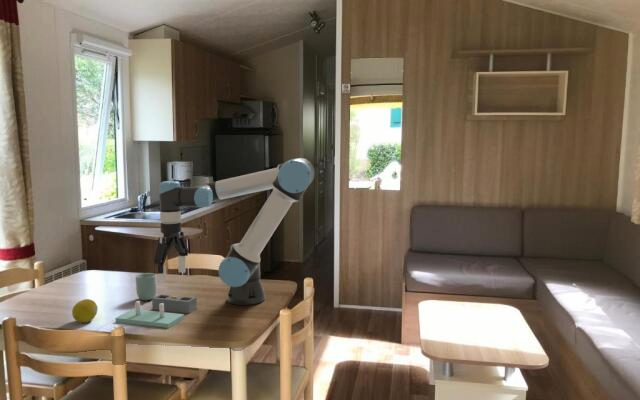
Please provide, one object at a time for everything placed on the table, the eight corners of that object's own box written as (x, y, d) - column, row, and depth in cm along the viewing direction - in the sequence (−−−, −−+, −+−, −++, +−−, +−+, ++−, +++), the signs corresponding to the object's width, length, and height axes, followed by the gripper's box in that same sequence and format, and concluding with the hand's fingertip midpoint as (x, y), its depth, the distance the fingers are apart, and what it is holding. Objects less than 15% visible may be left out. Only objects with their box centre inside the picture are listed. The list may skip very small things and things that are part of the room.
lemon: (85, 327, 182) (83, 305, 181) (66, 325, 184) (64, 303, 183) (105, 317, 192) (104, 296, 191) (87, 315, 194) (86, 294, 193)
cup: (150, 302, 208) (149, 278, 207) (133, 301, 210) (131, 277, 209) (160, 296, 216) (159, 273, 215) (143, 295, 218) (142, 272, 216)
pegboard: (184, 318, 190) (183, 301, 189) (169, 328, 181) (168, 310, 180) (133, 312, 196) (132, 296, 196) (115, 322, 187) (114, 304, 186)
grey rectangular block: (196, 308, 201) (196, 295, 200) (189, 313, 195) (188, 300, 195) (160, 305, 205) (160, 292, 205) (152, 309, 200) (152, 296, 199)
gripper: (179, 216, 209) (181, 267, 212) (142, 227, 185) (144, 284, 188) (196, 217, 207) (197, 269, 209) (160, 228, 183) (162, 286, 186)
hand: (172, 276), depth 199 cm, fingers open, 13 cm apart
